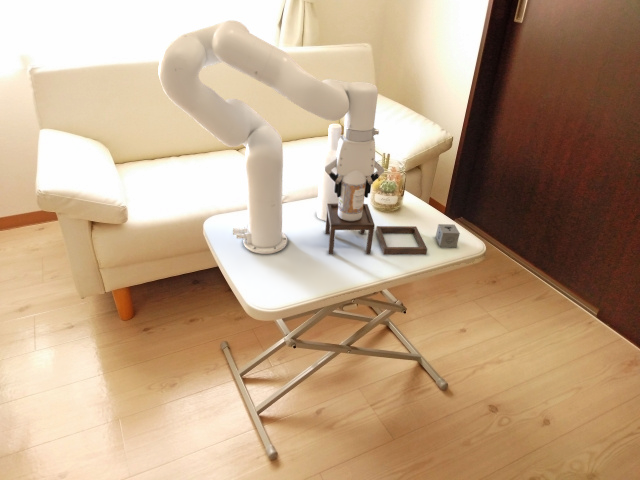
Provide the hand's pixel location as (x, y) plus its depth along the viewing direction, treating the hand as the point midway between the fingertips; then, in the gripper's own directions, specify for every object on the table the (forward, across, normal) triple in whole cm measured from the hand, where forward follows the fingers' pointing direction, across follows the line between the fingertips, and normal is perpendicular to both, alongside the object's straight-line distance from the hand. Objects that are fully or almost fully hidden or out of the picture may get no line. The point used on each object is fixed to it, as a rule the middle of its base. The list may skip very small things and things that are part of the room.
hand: (351, 194), depth 125 cm
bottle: (+16, +4, -16) cm, 23 cm away
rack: (+16, -8, 0) cm, 18 cm away
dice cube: (+16, -30, 0) cm, 34 cm away
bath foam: (+7, 0, 0) cm, 7 cm away
